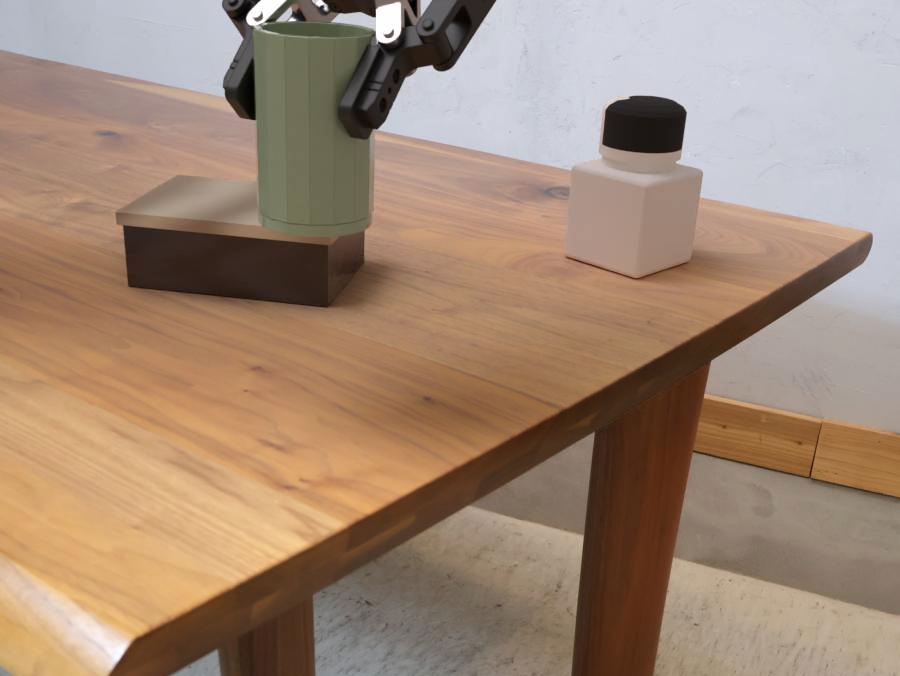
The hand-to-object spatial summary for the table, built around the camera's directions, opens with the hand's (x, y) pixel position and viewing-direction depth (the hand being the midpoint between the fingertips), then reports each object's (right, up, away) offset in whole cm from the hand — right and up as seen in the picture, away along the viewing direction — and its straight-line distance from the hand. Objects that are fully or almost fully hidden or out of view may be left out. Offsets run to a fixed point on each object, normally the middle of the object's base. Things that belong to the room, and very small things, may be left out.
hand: (294, 117), depth 53 cm
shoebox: (-7, -3, +28) cm, 29 cm away
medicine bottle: (+21, -1, +35) cm, 41 cm away
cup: (+1, -4, +4) cm, 6 cm away
